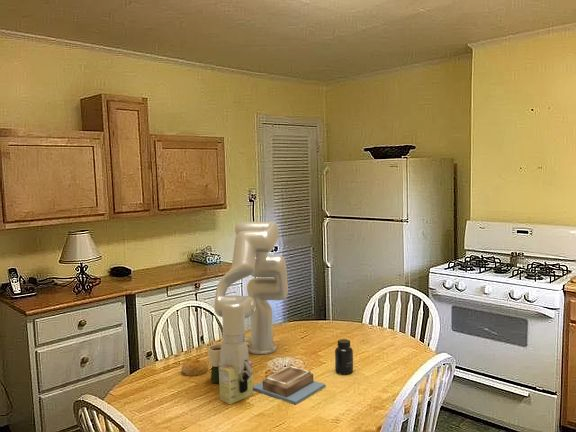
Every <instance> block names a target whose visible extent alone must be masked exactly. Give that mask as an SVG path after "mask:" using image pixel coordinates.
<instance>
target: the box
mask: <svg viewBox="0 0 576 432" xmlns="http://www.w3.org/2000/svg"><path fill="white" fill-rule="evenodd" d="M249 365H250V367H251V368H252V369H253V362H252V361H250V360H249ZM242 374H243V377H244V373H242ZM253 379H254V378H253V374H252V375H251V376H250V377H249V379H248V380H247V384H248V390H247V391H245V392H243V393H240V383H239V382H240V381H241V380H240V376H239V374H235V369H234V368H232V367H229V366H225V365H222V366H219V382H218V383H219V400H220V401H222V402H224V403H226V404H228V405H233V404H234V403H236V402H238V401H239V402H240V401H242V400H245V399H246V398H249V397H250V396H254V390H253V386H254V383H253V382H254V381H253Z"/></svg>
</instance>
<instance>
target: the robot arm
mask: <svg viewBox="0 0 576 432" xmlns="http://www.w3.org/2000/svg"><path fill="white" fill-rule="evenodd" d="M234 232H235V238H234V247H233V253H232V262H231V268H230V269H229V270H228V271H227V272H225V274H224V275H223V276H222V277H221V278H220V280H219V282H218V283H217V286H216V291H215V297H214V305H213V306H214V307H213V308H214V312H215V314H216V315H217V316H218V317H220V318H222V339H223V340H222V341H221V343H220V344H221V352H220V361H219V365H220V366H222V365H225V366H229V367H232V368H234V369H235V374H239V376H240V380H241V381H240V382H239V383H240V393H243V392H245V391H247V390H248V384H247V380H248V379H249V377H250V376H251V375H252V376H253V374H254V370H253V367H252V368H251V367H250V365H249V361H250V355H249V353H250V354H253V355H268V354H272V353H275V352H276V351H277V350H278V346H277V344H275V343H274V330H273V329H274V327H273V326H274V325H273V308H272V307H271V305H270V303H269V302H268V301H283V300H286V299H287V298H288V295H289V294H288V293H289V287H288V286H289V284H288V272H287V263H286V259H285V257H284V256H283V255H281V254H269V253H271V252H272V251H273V249H274V247H275V245H276V243H277V242H278V239H279V233H280V232H279V226H278V224H277V222H274V221H241V222H238V223H237V224H235V227H234ZM249 276H251V277H253V278H251V279H250V280H249V281H248V282H247V286H246V289H247V291H246V292H247V295H226V292H227V291H228V289H230V287H231V286H232V285H233V284H234V283H236V282H239V281H240V280H243V279H244V278H247V277H249ZM248 318H249V319H250V336H247V338H246V320H245V319H248ZM248 343H249V345H248ZM242 373H244V377H243V374H242Z"/></svg>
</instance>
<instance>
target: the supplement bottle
mask: <svg viewBox="0 0 576 432" xmlns="http://www.w3.org/2000/svg"><path fill="white" fill-rule="evenodd" d="M336 345H337V347H336V348H335V349H334V367H335V369H334V371H335V373H337V374H339V375H350V374H352V373H353V372H354V348H352V347H351V340H349V339H345V338H341V339H338V340H337V344H336Z"/></svg>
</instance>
